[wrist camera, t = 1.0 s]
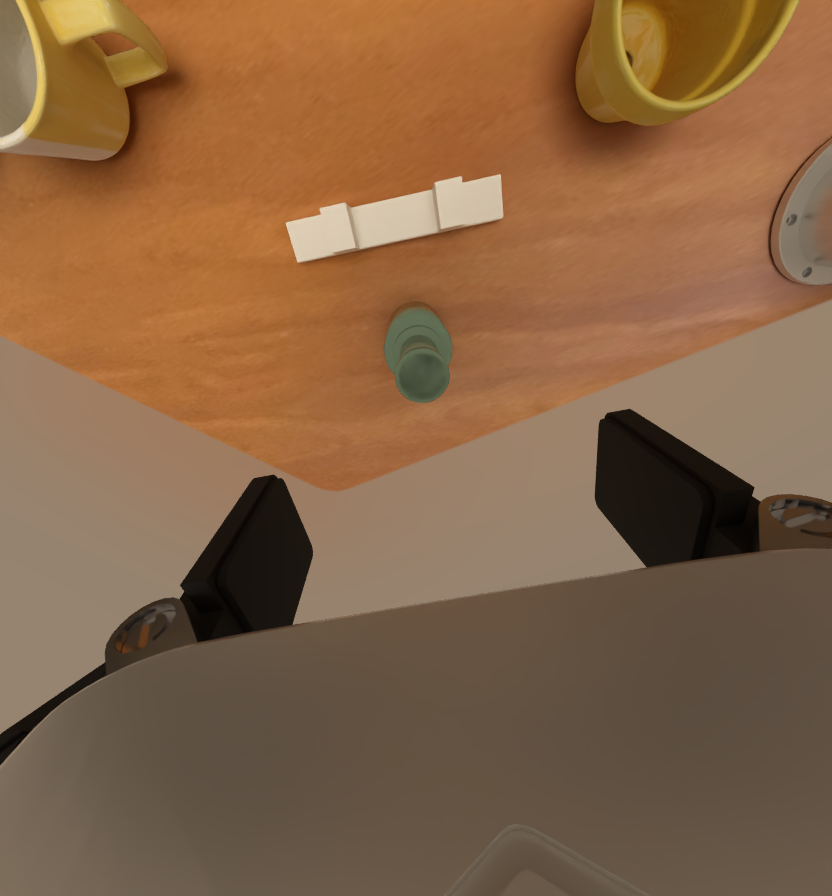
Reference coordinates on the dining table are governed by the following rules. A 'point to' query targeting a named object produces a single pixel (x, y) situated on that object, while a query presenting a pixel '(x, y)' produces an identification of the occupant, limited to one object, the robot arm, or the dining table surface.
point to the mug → (69, 76)
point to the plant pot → (672, 55)
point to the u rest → (397, 218)
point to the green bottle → (418, 352)
